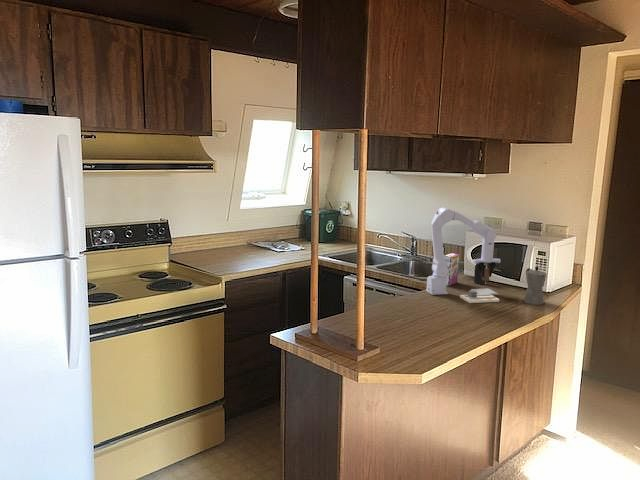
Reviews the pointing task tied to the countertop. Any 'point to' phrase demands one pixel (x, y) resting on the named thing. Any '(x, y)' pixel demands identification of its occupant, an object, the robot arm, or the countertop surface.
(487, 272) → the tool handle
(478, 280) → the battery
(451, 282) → the candy bar box
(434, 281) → the robot arm
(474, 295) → the switch tab
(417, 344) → the countertop surface
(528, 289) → the coffeepot
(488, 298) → the switch panel
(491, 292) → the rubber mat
